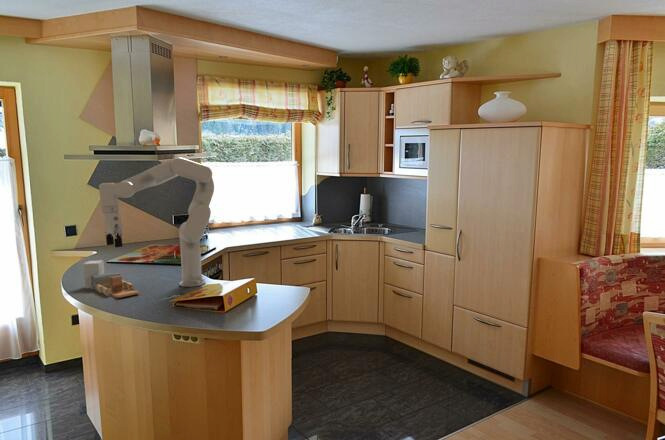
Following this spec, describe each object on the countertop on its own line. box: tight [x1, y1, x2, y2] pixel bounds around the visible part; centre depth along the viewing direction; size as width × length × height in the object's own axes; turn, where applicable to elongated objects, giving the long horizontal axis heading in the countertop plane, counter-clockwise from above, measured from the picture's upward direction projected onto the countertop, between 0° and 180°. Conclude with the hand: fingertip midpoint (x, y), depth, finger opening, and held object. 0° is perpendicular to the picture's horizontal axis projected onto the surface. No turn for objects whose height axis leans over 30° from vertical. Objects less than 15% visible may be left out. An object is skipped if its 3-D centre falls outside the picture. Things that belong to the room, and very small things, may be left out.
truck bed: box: [90, 271, 135, 297], centre depth 240 cm, size 21×12×7 cm, turn 45°
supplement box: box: [82, 259, 106, 289], centre depth 250 cm, size 7×7×13 cm
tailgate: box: [110, 290, 141, 298], centre depth 230 cm, size 1×10×9 cm
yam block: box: [110, 275, 123, 293], centre depth 237 cm, size 4×4×7 cm
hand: (114, 245), depth 234 cm, fingers open, 9 cm apart
